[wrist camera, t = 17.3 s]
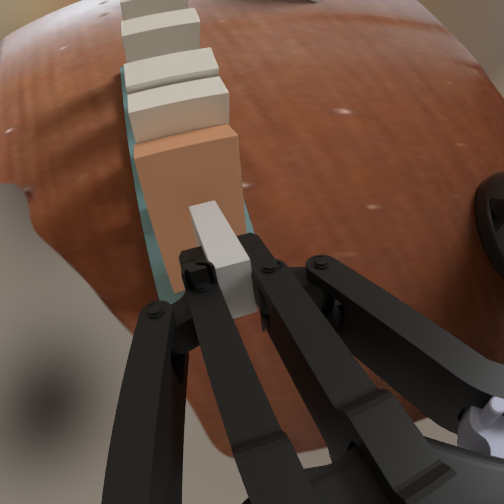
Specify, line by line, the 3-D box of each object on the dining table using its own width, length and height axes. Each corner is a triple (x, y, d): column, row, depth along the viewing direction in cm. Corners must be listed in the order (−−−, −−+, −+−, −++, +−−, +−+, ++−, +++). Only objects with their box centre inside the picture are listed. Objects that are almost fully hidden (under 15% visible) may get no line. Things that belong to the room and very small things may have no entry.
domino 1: (187, 70, 31) (187, -10, 21) (134, 81, 30) (120, 3, 19) (184, 57, 32) (183, -20, 21) (132, 68, 30) (119, -8, 20)
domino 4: (230, 208, 27) (229, 92, 17) (159, 226, 25) (128, 113, 16) (222, 188, 28) (219, 76, 19) (155, 204, 27) (127, 94, 17)
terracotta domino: (249, 272, 25) (238, 135, 18) (174, 293, 24) (133, 159, 16) (240, 252, 27) (227, 123, 19) (169, 271, 25) (134, 144, 18)
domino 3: (212, 154, 29) (219, 68, 18) (148, 169, 27) (125, 87, 17) (206, 134, 29) (210, 47, 19) (144, 148, 28) (123, 64, 17)
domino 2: (198, 107, 30) (200, 21, 19) (139, 120, 29) (121, 36, 18) (193, 91, 30) (194, 7, 20) (137, 103, 29) (120, 21, 19)
